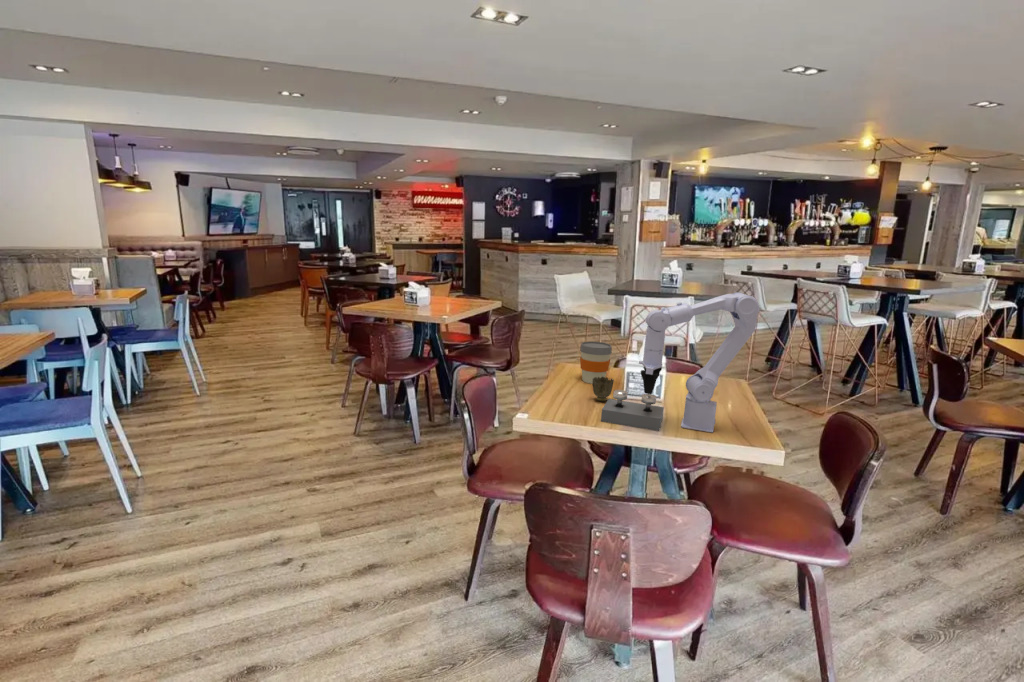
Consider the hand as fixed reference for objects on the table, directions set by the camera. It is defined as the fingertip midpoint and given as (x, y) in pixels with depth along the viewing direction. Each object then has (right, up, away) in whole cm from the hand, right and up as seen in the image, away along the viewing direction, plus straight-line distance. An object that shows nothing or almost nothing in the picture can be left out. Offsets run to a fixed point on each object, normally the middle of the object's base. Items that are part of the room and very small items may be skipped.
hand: (649, 391), depth 164 cm
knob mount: (-5, -10, +4) cm, 11 cm away
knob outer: (-9, -5, +4) cm, 11 cm away
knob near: (0, -6, +1) cm, 6 cm away
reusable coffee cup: (-10, -1, +47) cm, 48 cm away
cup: (-11, -6, +22) cm, 25 cm away
